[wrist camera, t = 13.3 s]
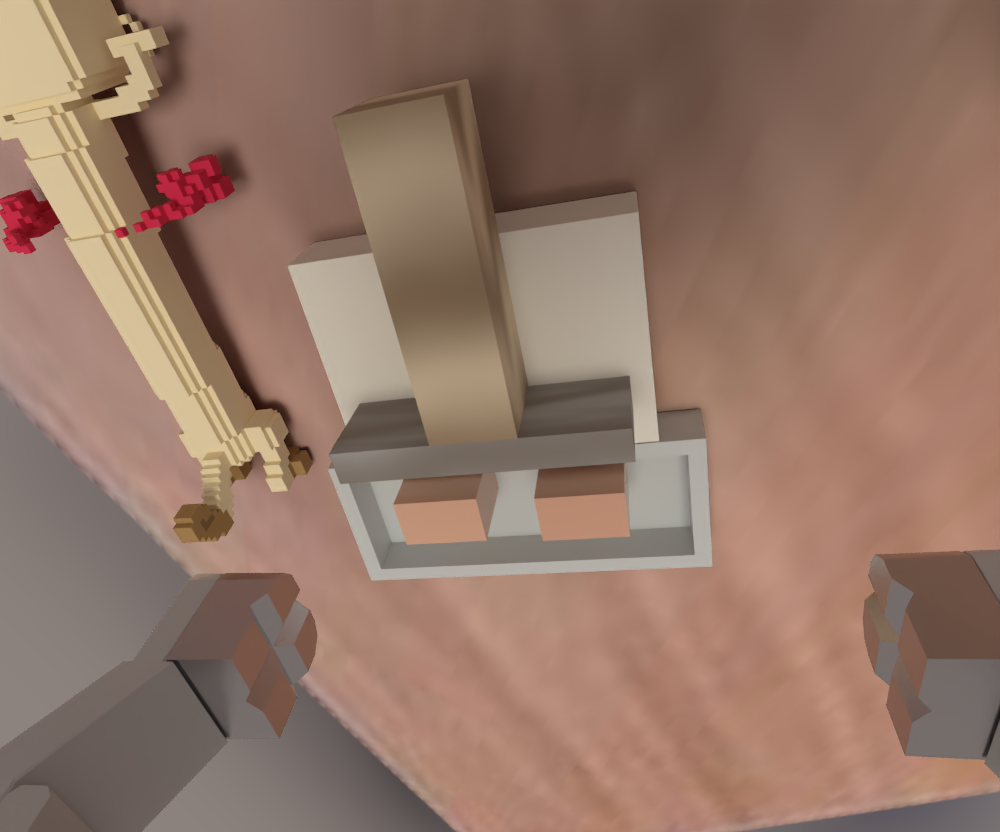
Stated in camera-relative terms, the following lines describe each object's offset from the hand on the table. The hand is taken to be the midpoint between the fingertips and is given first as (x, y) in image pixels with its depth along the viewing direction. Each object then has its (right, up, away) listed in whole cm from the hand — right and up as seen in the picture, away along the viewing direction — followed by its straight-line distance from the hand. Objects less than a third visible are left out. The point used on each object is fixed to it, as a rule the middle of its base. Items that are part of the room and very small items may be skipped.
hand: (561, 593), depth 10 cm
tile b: (+3, 0, +22) cm, 22 cm away
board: (-1, +7, +21) cm, 22 cm away
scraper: (-3, +9, +17) cm, 19 cm away
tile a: (-4, 0, +23) cm, 24 cm away
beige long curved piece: (-16, +11, +22) cm, 29 cm away
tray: (0, -1, +26) cm, 26 cm away
